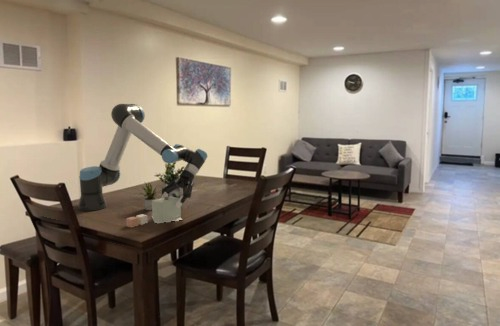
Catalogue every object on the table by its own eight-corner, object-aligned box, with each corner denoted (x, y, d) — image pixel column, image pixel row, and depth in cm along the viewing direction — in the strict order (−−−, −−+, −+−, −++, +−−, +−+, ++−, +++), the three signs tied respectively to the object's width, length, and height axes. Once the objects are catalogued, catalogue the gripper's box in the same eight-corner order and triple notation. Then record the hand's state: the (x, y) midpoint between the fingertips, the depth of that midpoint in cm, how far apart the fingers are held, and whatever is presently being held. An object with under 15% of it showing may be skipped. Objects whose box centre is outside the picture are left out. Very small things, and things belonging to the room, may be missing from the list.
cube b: (131, 227, 177) (131, 219, 176) (126, 226, 179) (126, 218, 179) (138, 225, 180) (138, 217, 179) (133, 224, 182) (133, 216, 182)
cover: (163, 222, 185) (162, 200, 183) (152, 219, 190) (151, 197, 188) (180, 216, 194) (180, 196, 192) (170, 213, 199) (169, 193, 197)
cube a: (141, 225, 181) (140, 217, 181) (136, 223, 184) (135, 215, 183) (147, 223, 184) (147, 215, 184) (142, 221, 187) (142, 214, 186)
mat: (155, 223, 183) (155, 222, 183) (151, 216, 195) (151, 215, 195) (182, 220, 189) (182, 219, 189) (177, 214, 200) (177, 213, 200)
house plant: (131, 208, 211) (130, 180, 209) (152, 204, 221) (152, 177, 218) (143, 213, 201) (142, 184, 199) (165, 208, 210) (164, 181, 208)
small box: (162, 206, 216) (161, 189, 215) (161, 203, 222) (161, 187, 221) (180, 205, 219) (179, 188, 217) (179, 202, 225) (179, 186, 224)
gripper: (208, 180, 196) (188, 213, 186) (177, 175, 211) (157, 205, 201) (201, 171, 191) (180, 205, 181) (170, 167, 206) (149, 197, 196)
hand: (168, 205), depth 191 cm, fingers open, 13 cm apart
